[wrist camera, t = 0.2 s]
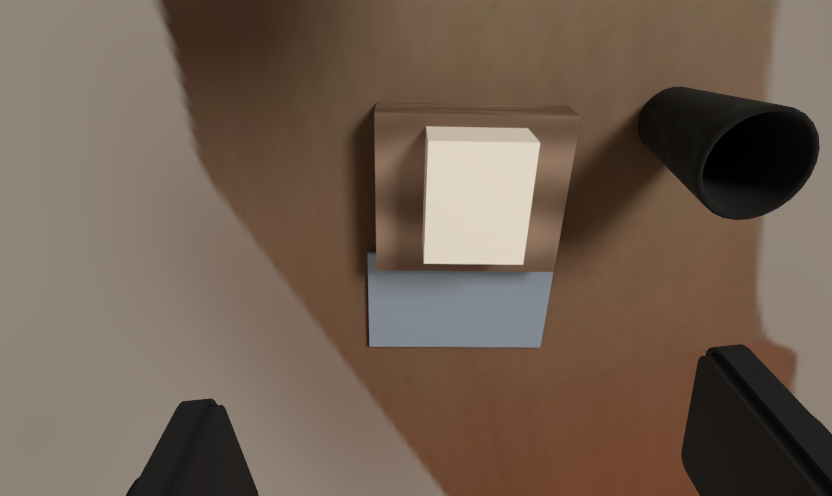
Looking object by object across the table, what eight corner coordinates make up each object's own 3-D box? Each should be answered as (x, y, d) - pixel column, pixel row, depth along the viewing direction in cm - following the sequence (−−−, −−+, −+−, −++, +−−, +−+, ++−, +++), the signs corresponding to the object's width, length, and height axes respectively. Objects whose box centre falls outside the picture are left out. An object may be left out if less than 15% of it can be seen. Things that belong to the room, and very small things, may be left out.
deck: (376, 102, 42) (374, 112, 39) (568, 106, 42) (581, 116, 39) (378, 251, 49) (376, 270, 45) (544, 253, 49) (553, 272, 46)
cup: (630, 174, 45) (699, 233, 35) (620, 90, 42) (693, 127, 31) (718, 148, 45) (817, 201, 34) (716, 60, 41) (824, 89, 30)
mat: (367, 251, 49) (367, 254, 48) (554, 253, 49) (556, 256, 49) (369, 343, 54) (369, 346, 53) (539, 344, 54) (540, 347, 54)
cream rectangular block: (425, 126, 40) (428, 140, 36) (528, 128, 40) (540, 142, 36) (422, 240, 44) (423, 263, 41) (513, 242, 44) (523, 264, 41)
